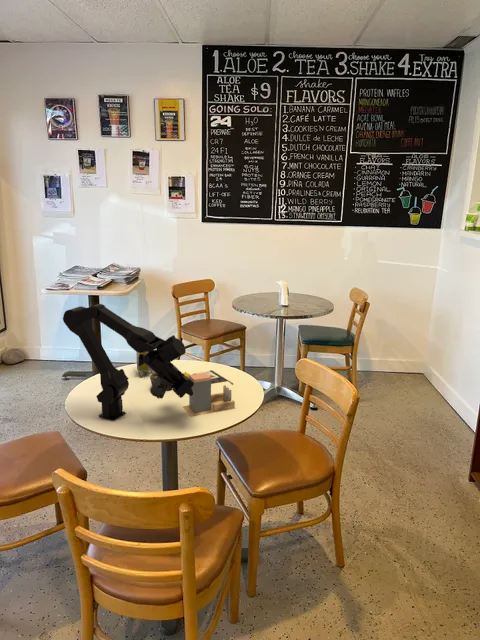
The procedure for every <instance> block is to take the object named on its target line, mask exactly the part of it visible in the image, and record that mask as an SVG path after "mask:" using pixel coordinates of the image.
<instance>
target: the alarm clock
mask: <svg viewBox="0 0 480 640" xmlns="http://www.w3.org/2000/svg"><path fill="white" fill-rule="evenodd" d="M145 353H147V351H145V352H142V353H138V352H136V369H137V371H138V372H139V375H140V378H143V375H144V372H150V373H152V371H153V370H152V369H151V368H149V367H148V366H147V365H146V364H143V365H141V366H138V364H139V359H138V358H139V355H140V354H145Z"/></svg>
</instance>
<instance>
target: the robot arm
mask: <svg viewBox="0 0 480 640" xmlns="http://www.w3.org/2000/svg"><path fill="white" fill-rule="evenodd" d="M93 319H95V320H97V321H99V322H100V323H101V324H102V325H105V327H107V328H109V329H111V330H112V331H113V332H115V333H117V334H118V335H119V336H120V337H123V338H124V340H125V341H126V343H127V345H128V346H129V347H130V348H131V349H133V351H135V352H136V353H137V352H138V353H142V352H145V351H147V353H145V354H140V355H139V358H138V359H139V364H138V366H141V365H143V364H146V365H147V366H148V367H149V368H151V369H152V370H153V371H154V372H155V374H156V375H157V378H156V380H155V381H154V383H153V385H152V384H151V387H150V388H149V389H150V390H149V393H150V394H151V395H152V396H153V397H156V398H157V399H158V400H159V399H161V400H162V399H163V398H164V396H165V394H166V392H167V391H166V389H167V386H168V387H169V388H170V387H171V388H172V392H173V393H175V394H176V395H177V396H178V397H179V398H180V399H181V398H183V397H184V396H185V395H186V394H187V395H188V396H189V395H190V396H192V395H193V391H192V388H191V387H192V386H193V385H194V382H193V381H192V380H190V379H189V378H188V377H187V376H185V375H184V374H183V373H184V372H181V370H179V369H178V367H176V366H175V364H174V363H172V362H173V361H175V360H176V359H179V358H180V357H183V355H185V354H186V347H185V346H186V345H185V344H184V343H183V341H181V340H180V339H179V338H177V337H176V336H175V335H174V334H173V335H171V336H170V337H168V338H167V339H166V340H165V339H163V338H161V337H159V336H156V334H155V333H153V332H152V331H151V330H149V329H146V328H144V327H140V326H135V325H133V324H132V323H130V322H128V321H127V320H126V319H124V318H123V317H121V316H120V315H118V314H116V313H115V312H113V311H112V310H110V309H109V308H108V307H106V305H104V304H102V303H98V304H95V305H91V306H89V307H85V306H82V305H81V306H76V307H73V308H71V309H67V310H65V311H64V313H63V316H62V321H63V323H64V325H65V326H66V327H67V328H68V329H69V331H70V332H72V333H73V334H75V335H76V336H78V338H79V340H80V341H81V343H82V345H83V346H84V348H85V350H86V351H87V354H88V355H89V357H90V359H91V360H92V362H93V364H94V367H95V368H96V370H97V372H98V373H99V375H100V376H99V377H100V386H101V388H102V390H101V391H100V392H99V393H98V394H97V395H96V400H97V402H99V403H101V413H100V414H98V417H99V418H101V419H106V420H108V421H115V420H117V419H119V418H121V417H122V416H124V415H126V414H127V412H126V411H123V409H124V407H123V399H122V396H124V395H125V392H126V391H127V390H128V388H129V385H130V383H129V377H128V376H127V375H126V373H125V370H124V369H123V368H120V369H118V368H116V367H115V366H114V365H113V363H112V361H111V359H110V358H109V355H108V353H107V352H106V351H105V349H104V347H103V344H101V342H100V340H99V338H98V336H97V335H96V333H95V331H94V328H93Z"/></svg>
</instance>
